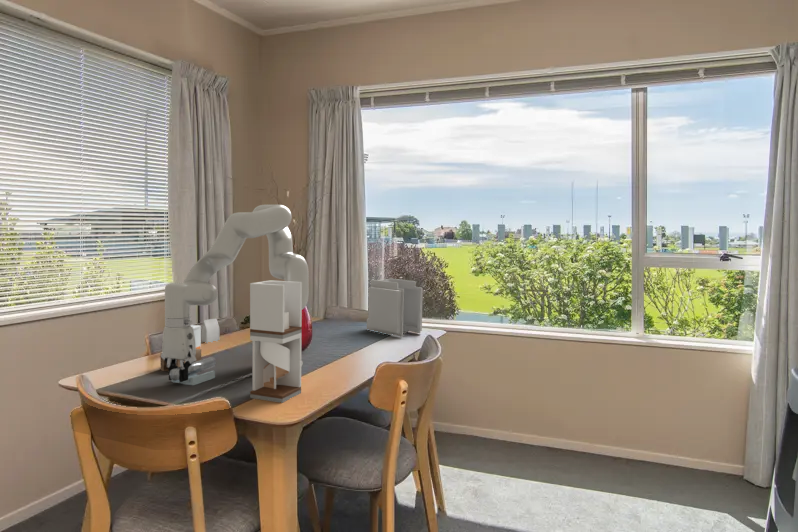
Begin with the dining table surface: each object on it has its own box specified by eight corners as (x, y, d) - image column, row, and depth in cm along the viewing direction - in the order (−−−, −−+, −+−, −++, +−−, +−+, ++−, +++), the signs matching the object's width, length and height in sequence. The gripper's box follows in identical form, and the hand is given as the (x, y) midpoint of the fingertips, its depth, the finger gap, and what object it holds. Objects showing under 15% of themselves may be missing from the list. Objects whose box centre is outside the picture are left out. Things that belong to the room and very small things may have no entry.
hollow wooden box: (201, 369, 199) (201, 349, 199) (178, 377, 189) (178, 355, 189) (184, 367, 203) (184, 346, 202) (160, 374, 192) (160, 353, 192)
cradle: (215, 381, 184) (215, 370, 184) (193, 389, 175) (192, 378, 175) (194, 378, 188) (194, 367, 188) (171, 386, 179) (171, 374, 178)
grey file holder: (386, 326, 291) (387, 277, 289) (423, 334, 272) (424, 281, 270) (361, 330, 279) (362, 279, 277) (398, 339, 260) (399, 283, 258)
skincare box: (192, 358, 216) (192, 328, 215) (183, 357, 217) (182, 327, 216) (201, 355, 222) (201, 325, 221) (191, 354, 223) (191, 324, 222)
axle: (208, 366, 190) (207, 356, 190) (216, 367, 188) (215, 356, 188) (169, 380, 174) (168, 369, 174) (178, 380, 173) (177, 369, 173)
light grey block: (219, 340, 249) (219, 318, 248) (206, 343, 243) (206, 320, 243) (214, 339, 251) (214, 317, 250) (201, 342, 245) (201, 319, 245)
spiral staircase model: (250, 397, 168) (250, 283, 166) (270, 388, 178) (270, 280, 176) (282, 402, 164) (282, 285, 162) (301, 393, 174) (301, 282, 172)
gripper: (207, 323, 174) (207, 380, 176) (167, 318, 181) (167, 374, 182) (189, 326, 167) (190, 386, 169) (148, 322, 174) (149, 379, 175)
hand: (178, 379), depth 175 cm, fingers closed on axle, 3 cm apart
